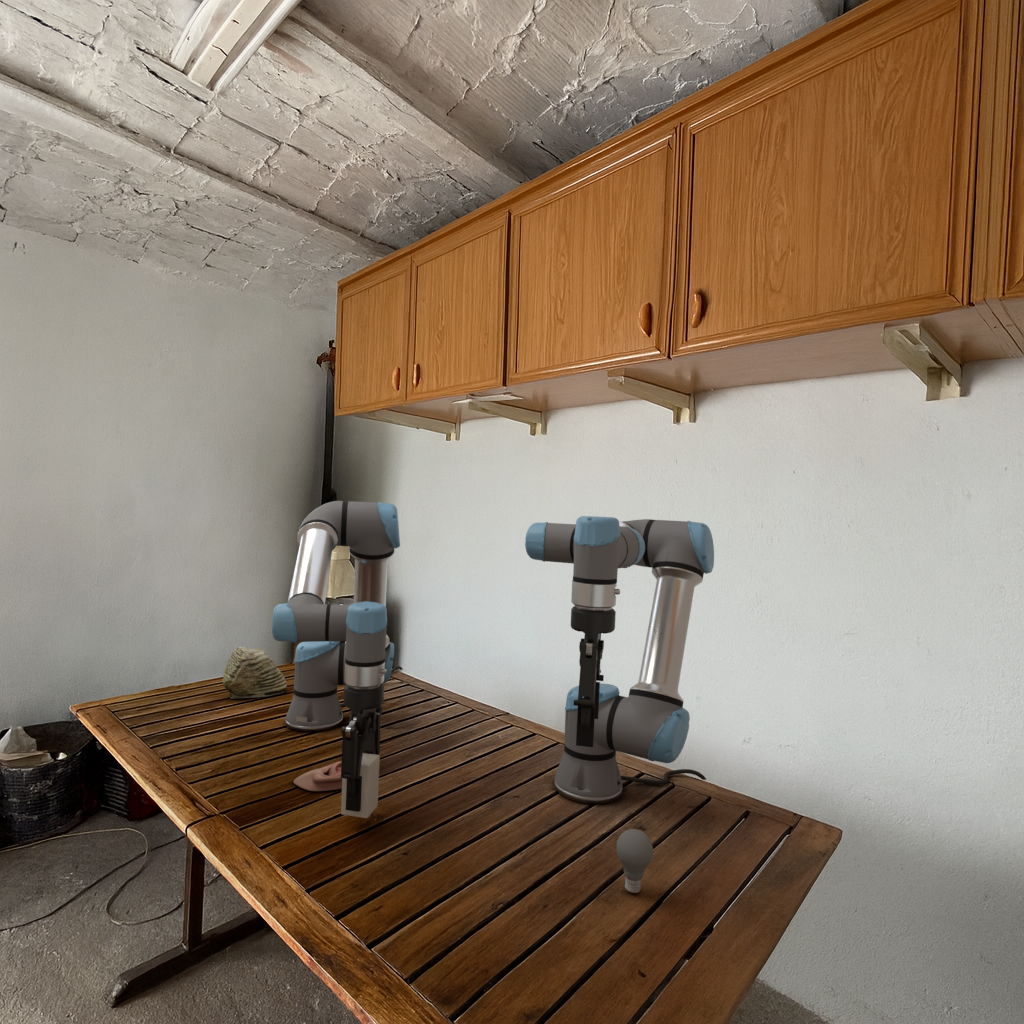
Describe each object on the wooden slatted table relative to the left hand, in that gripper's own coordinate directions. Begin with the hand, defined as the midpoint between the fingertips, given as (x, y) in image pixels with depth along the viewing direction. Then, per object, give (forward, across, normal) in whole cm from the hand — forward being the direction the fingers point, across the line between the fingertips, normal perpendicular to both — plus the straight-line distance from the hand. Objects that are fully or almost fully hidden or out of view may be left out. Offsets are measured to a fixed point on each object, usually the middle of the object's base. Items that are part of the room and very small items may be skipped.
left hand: (359, 802), depth 123 cm
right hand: (-21, -6, -43) cm, 49 cm away
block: (+1, 0, 0) cm, 1 cm away
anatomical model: (+5, +16, +15) cm, 22 cm away
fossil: (+6, +64, +64) cm, 91 cm away
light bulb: (+4, -7, -52) cm, 53 cm away
